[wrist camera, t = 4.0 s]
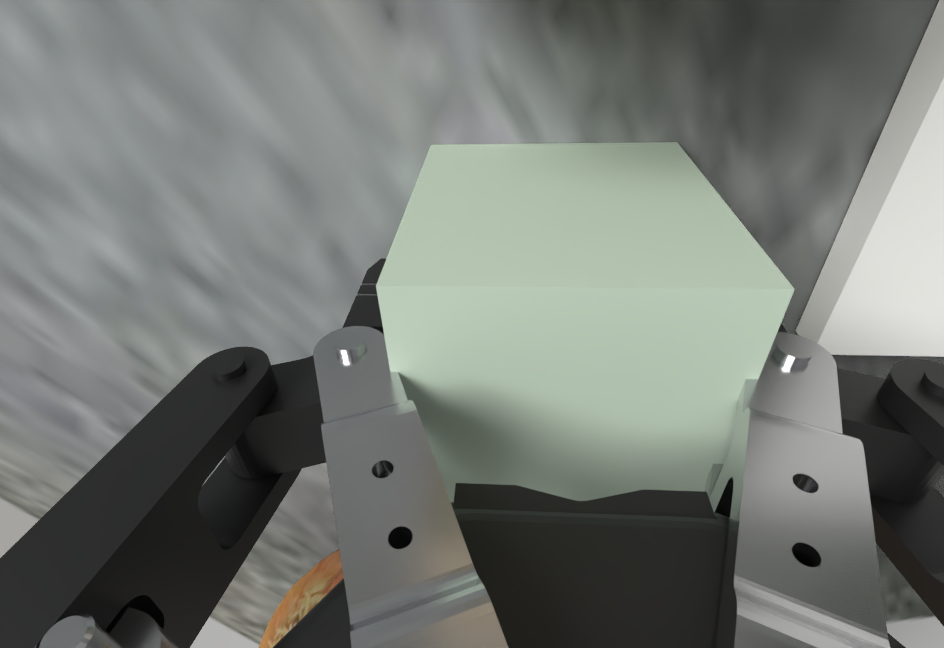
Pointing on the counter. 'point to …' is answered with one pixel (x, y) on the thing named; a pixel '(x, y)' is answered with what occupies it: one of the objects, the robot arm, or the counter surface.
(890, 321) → the baseplate
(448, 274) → the sage block
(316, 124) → the counter surface
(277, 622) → the onion
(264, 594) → the counter surface
